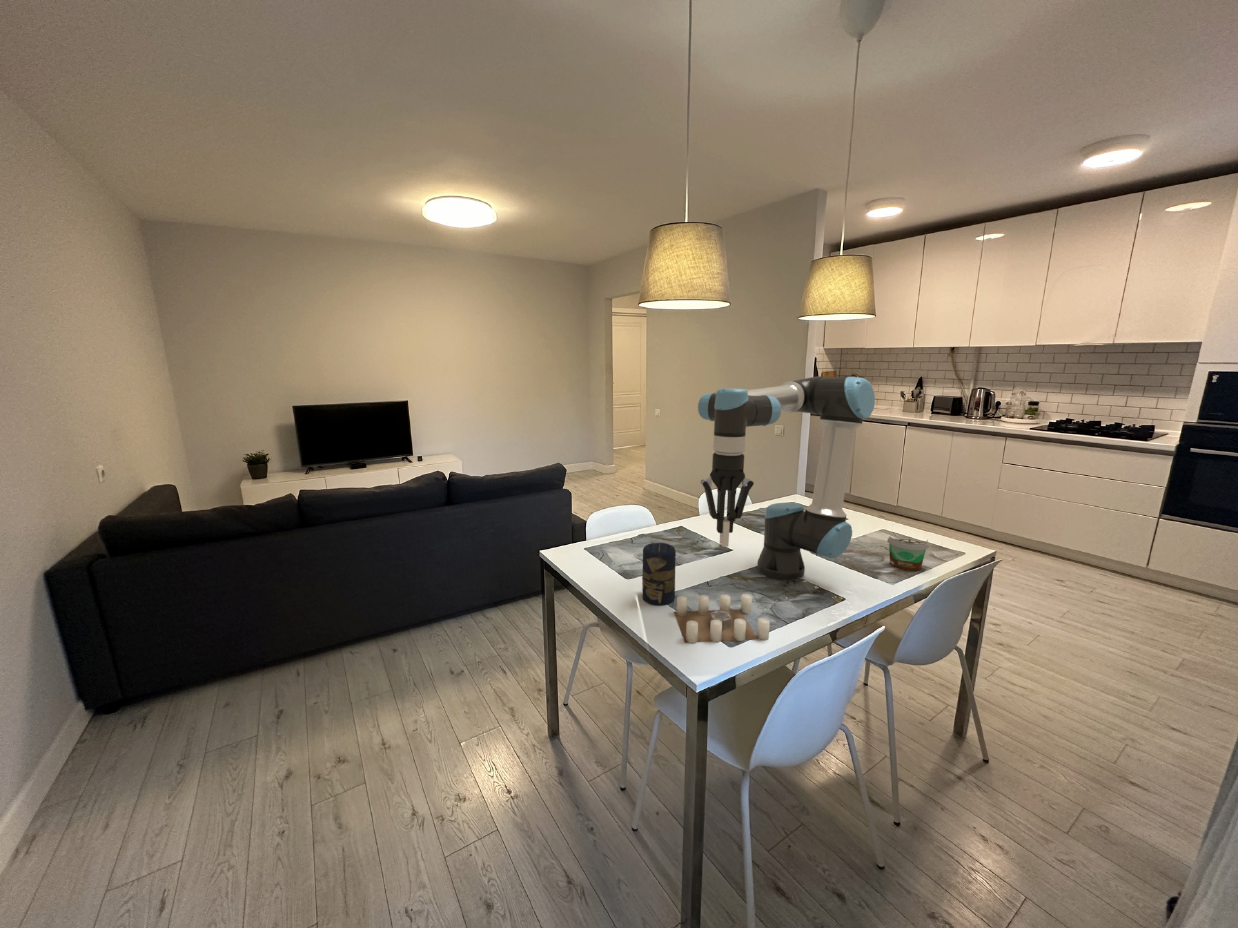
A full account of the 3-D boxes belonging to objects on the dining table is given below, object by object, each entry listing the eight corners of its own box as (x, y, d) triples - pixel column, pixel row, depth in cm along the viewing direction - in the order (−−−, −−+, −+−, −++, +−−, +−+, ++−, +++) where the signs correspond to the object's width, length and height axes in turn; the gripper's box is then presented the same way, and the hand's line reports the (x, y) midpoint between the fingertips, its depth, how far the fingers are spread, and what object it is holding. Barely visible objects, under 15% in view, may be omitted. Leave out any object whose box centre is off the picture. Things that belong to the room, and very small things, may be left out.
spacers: (749, 608, 134) (750, 593, 133) (770, 640, 118) (771, 623, 117) (675, 611, 132) (676, 596, 131) (687, 643, 117) (687, 626, 116)
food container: (887, 569, 161) (891, 541, 159) (884, 562, 166) (887, 535, 164) (930, 574, 156) (934, 546, 154) (925, 567, 162) (929, 539, 160)
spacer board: (765, 612, 134) (765, 608, 134) (787, 642, 119) (787, 637, 119) (673, 615, 132) (673, 611, 132) (684, 646, 117) (684, 642, 117)
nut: (726, 618, 128) (726, 609, 128) (732, 629, 123) (733, 620, 122) (708, 619, 128) (708, 610, 127) (714, 630, 122) (714, 621, 122)
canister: (637, 606, 138) (637, 547, 134) (647, 591, 146) (648, 536, 143) (670, 611, 134) (671, 551, 131) (678, 596, 143) (679, 540, 139)
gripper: (749, 449, 120) (744, 538, 125) (698, 450, 119) (695, 540, 124) (760, 455, 113) (754, 549, 117) (706, 455, 112) (702, 550, 116)
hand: (723, 544), depth 120 cm, fingers closed
